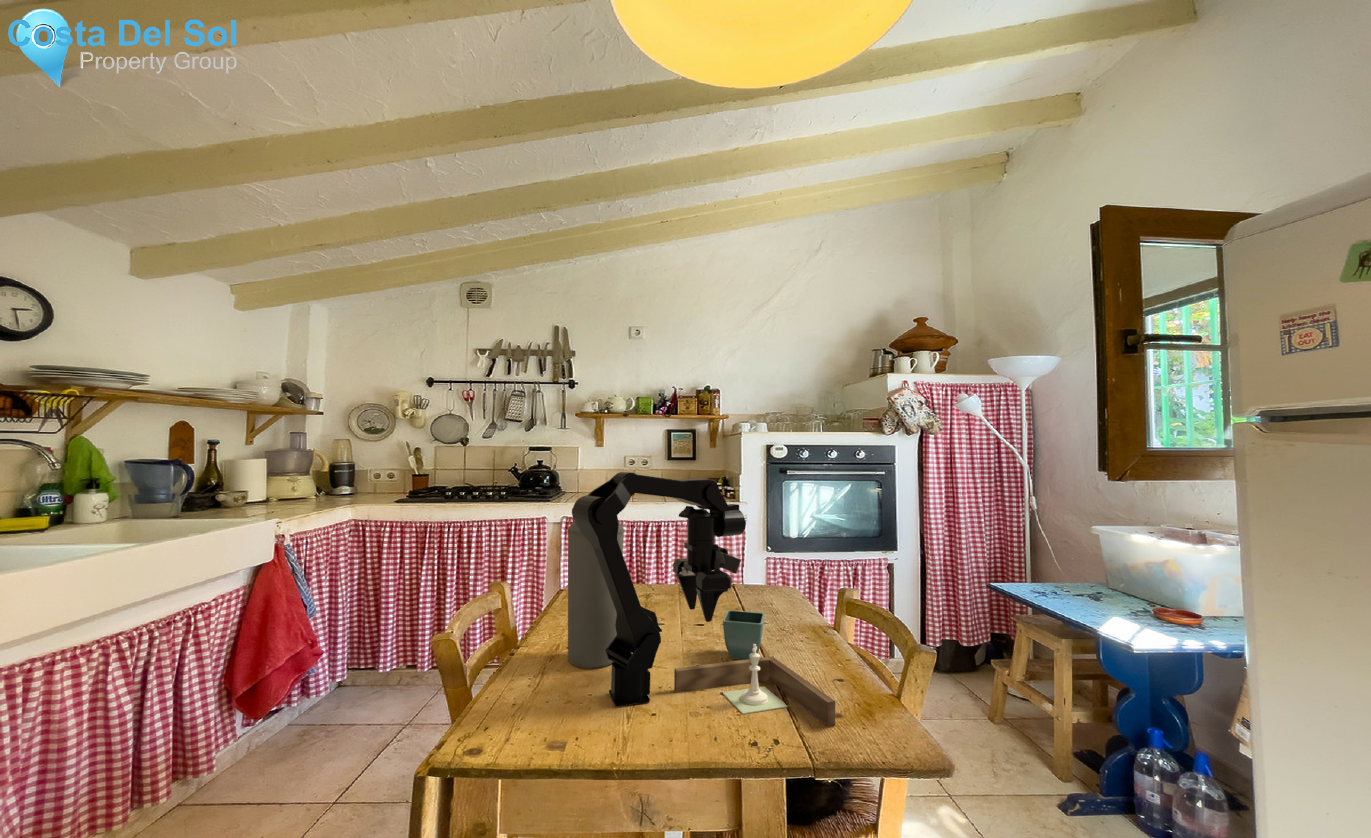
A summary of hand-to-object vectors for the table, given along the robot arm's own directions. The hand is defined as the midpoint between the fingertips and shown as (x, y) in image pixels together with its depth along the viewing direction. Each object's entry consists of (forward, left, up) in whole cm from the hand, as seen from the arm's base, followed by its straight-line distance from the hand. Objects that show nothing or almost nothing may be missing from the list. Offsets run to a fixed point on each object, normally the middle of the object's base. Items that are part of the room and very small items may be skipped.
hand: (700, 615), depth 113 cm
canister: (-19, +16, -13) cm, 28 cm away
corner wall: (+4, -15, -12) cm, 20 cm away
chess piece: (+6, -13, -12) cm, 19 cm away
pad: (+6, -13, -12) cm, 19 cm away
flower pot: (+14, +8, -13) cm, 21 cm away
